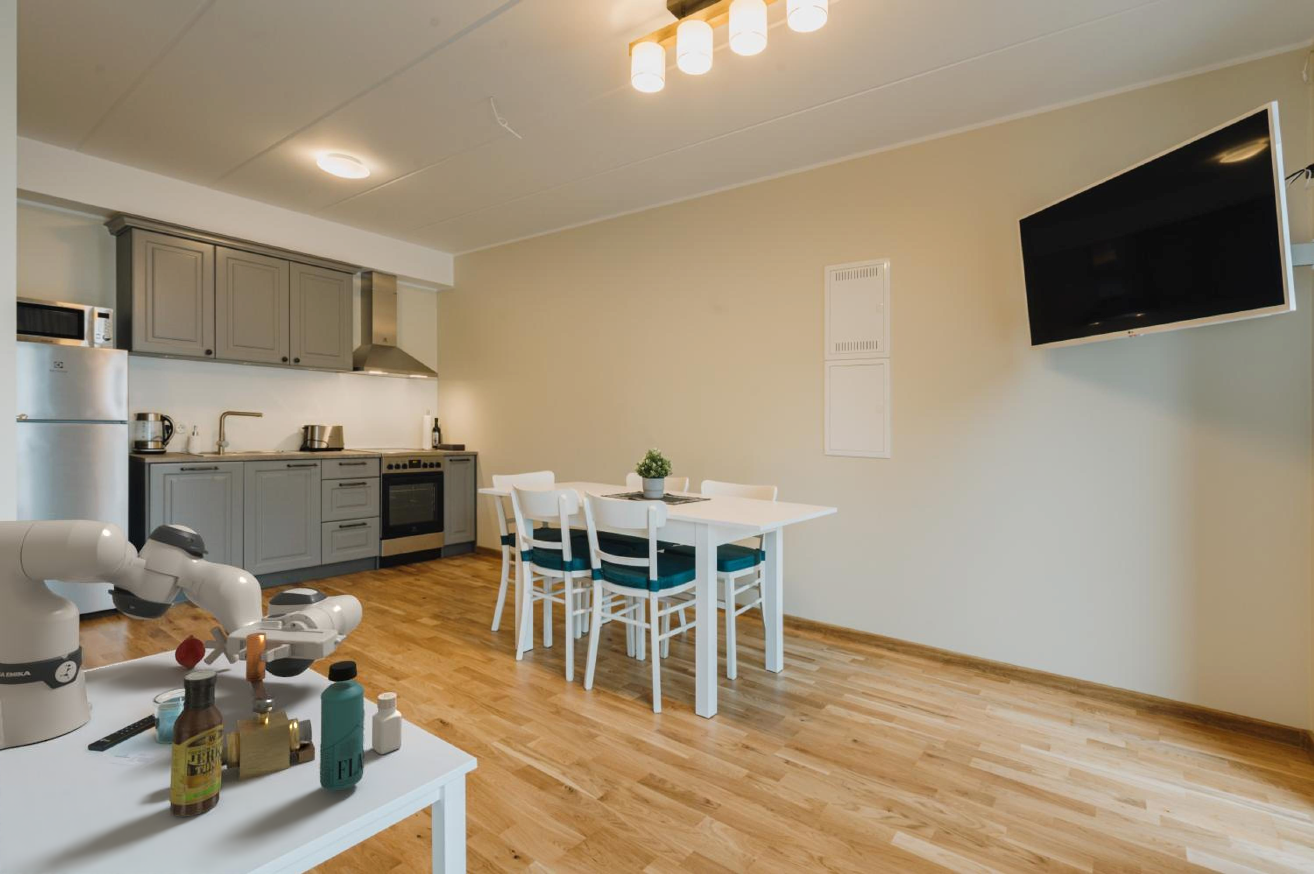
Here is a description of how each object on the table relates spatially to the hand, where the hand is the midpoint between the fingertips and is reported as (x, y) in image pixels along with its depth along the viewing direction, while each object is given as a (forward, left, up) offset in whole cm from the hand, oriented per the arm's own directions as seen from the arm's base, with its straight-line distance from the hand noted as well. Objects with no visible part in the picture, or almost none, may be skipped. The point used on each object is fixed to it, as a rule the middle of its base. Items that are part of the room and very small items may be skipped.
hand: (252, 657), depth 116 cm
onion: (-39, +28, -15) cm, 51 cm away
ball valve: (+7, -9, -15) cm, 19 cm away
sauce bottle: (+7, -20, -15) cm, 26 cm away
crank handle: (+4, -3, -5) cm, 8 cm away
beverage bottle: (+26, -12, -15) cm, 32 cm away
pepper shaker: (+26, +1, -15) cm, 30 cm away
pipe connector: (-29, +30, -13) cm, 44 cm away
